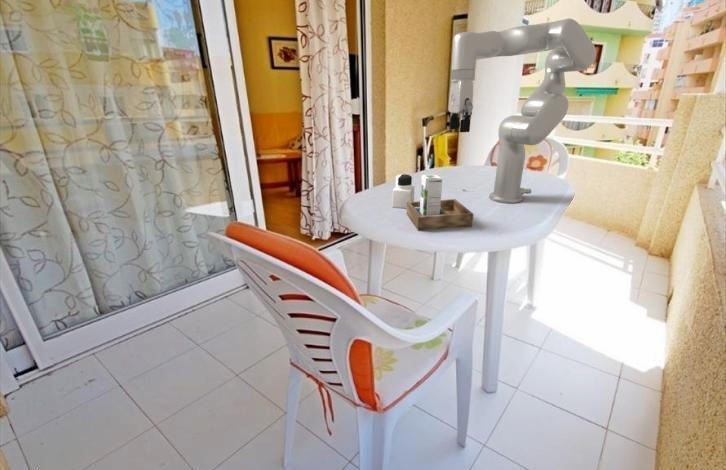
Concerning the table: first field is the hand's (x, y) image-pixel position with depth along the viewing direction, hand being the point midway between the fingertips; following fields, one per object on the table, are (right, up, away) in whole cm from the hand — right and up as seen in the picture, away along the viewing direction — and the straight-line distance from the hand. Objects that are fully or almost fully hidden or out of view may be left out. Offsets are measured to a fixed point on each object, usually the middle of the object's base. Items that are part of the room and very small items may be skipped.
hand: (459, 130), depth 117 cm
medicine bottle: (-18, -25, +15) cm, 34 cm away
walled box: (-8, -31, -1) cm, 32 cm away
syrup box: (-11, -31, -1) cm, 32 cm away
